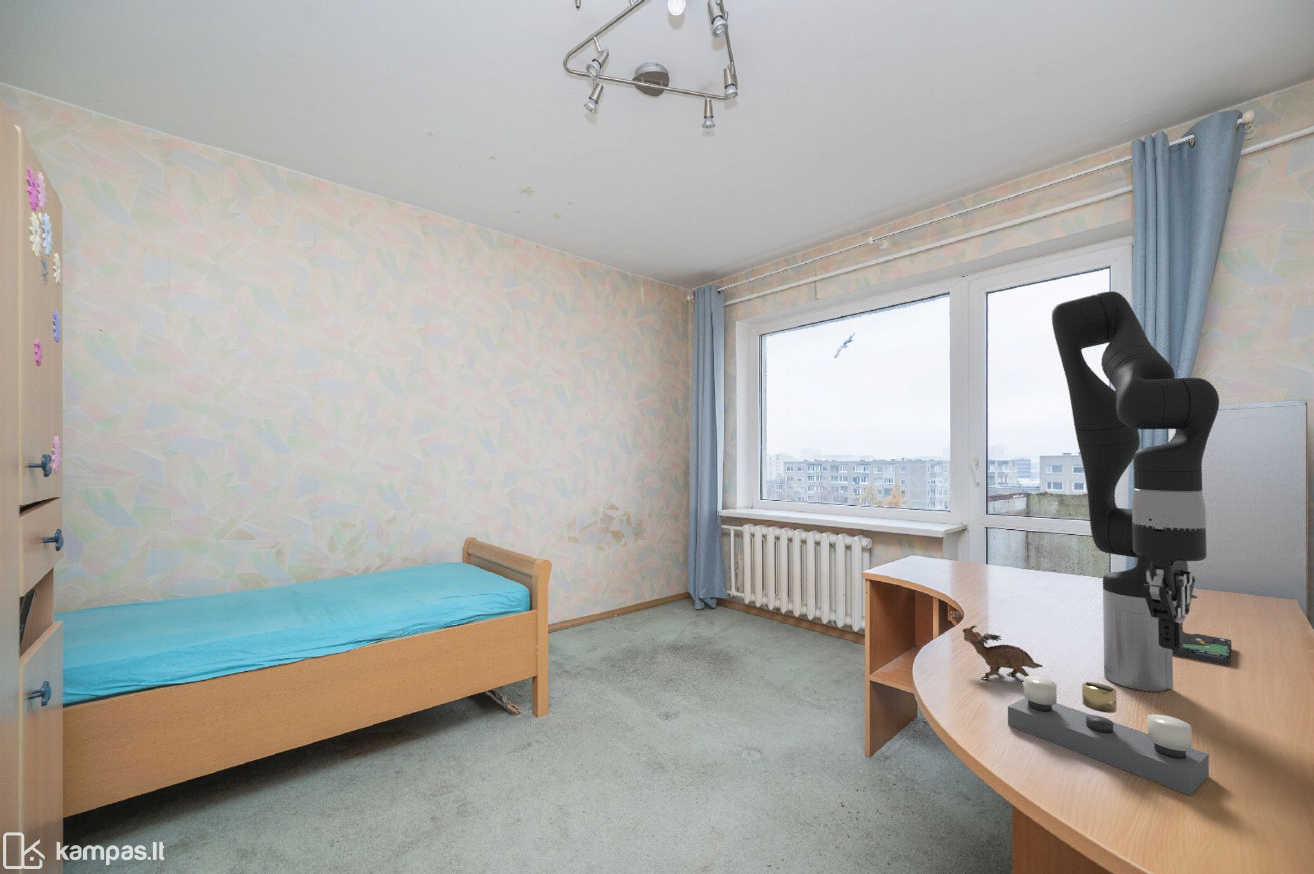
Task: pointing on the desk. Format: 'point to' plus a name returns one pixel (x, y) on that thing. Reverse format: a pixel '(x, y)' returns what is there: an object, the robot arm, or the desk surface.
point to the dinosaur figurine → (999, 654)
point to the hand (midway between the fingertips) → (1170, 647)
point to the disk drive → (1205, 648)
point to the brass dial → (1099, 697)
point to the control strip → (1111, 744)
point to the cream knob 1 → (1040, 690)
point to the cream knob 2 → (1169, 732)
